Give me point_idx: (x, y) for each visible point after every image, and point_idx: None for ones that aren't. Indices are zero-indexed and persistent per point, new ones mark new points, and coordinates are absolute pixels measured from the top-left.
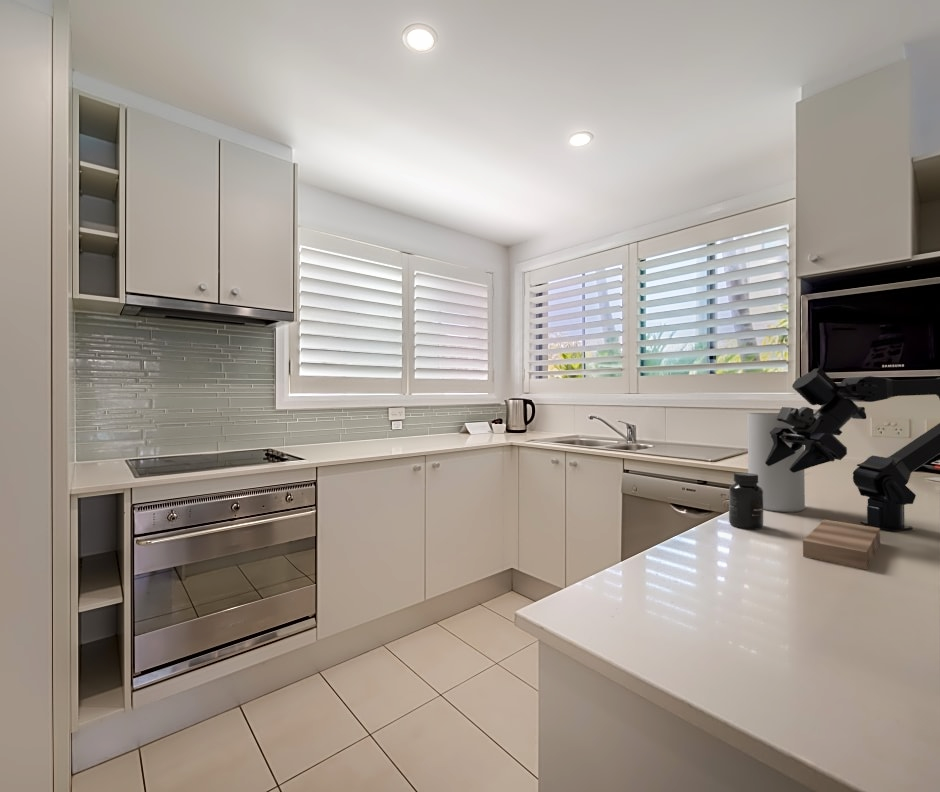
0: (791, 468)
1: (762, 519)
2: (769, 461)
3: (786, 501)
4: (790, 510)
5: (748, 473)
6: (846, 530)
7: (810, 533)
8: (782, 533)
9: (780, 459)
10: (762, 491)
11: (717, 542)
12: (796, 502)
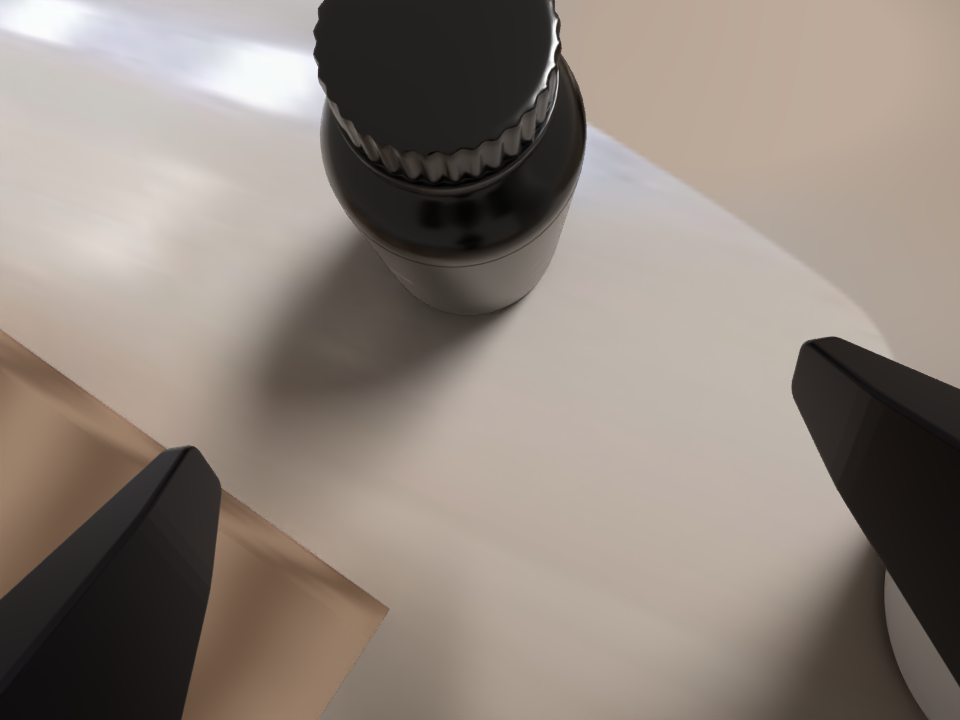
0: (153, 465)
1: (409, 289)
2: (833, 396)
3: None
4: (890, 639)
5: (491, 78)
6: None
7: (36, 400)
8: (349, 376)
9: (923, 612)
10: (375, 237)
11: (142, 17)
12: (950, 715)
